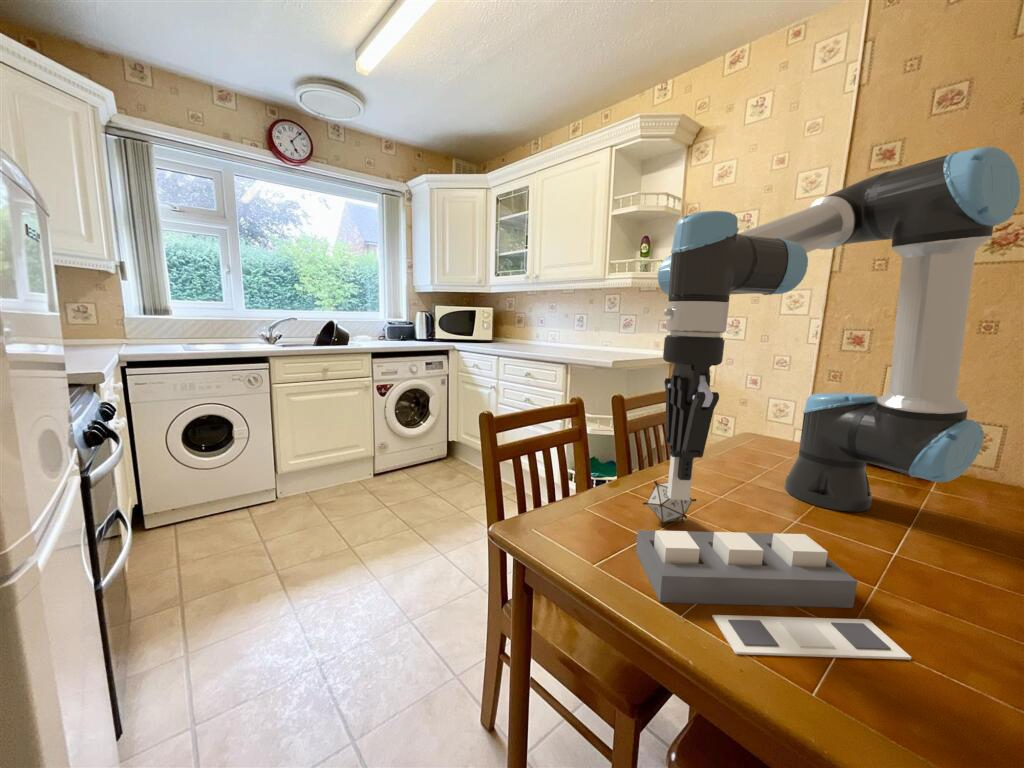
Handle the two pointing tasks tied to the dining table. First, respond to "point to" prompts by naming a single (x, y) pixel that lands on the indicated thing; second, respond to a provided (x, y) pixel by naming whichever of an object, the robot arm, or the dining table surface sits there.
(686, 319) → the robot arm
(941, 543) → the dining table surface
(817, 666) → the dining table surface
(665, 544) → the button far
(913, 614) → the dining table surface
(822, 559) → the button near arm
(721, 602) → the button board
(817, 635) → the pattern card
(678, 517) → the game die
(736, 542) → the middle button
